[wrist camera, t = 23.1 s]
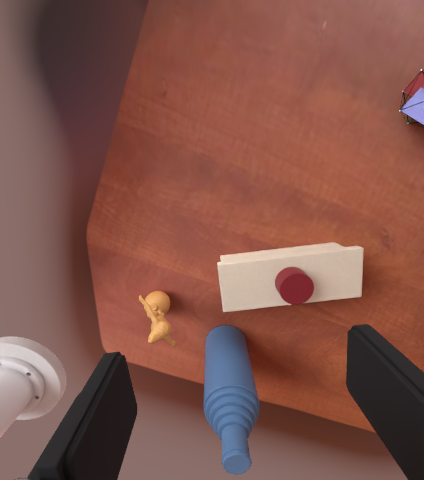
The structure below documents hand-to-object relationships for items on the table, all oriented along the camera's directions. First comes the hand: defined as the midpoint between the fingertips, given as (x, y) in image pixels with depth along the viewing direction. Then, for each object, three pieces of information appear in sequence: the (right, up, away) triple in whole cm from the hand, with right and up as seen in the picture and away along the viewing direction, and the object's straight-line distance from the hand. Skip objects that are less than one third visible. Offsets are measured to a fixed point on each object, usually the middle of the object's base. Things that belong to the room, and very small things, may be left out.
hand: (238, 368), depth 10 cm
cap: (+9, -1, +19) cm, 22 cm away
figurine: (-9, -4, +29) cm, 30 cm away
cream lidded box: (+9, +1, +27) cm, 29 cm away
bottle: (+1, -13, +31) cm, 33 cm away
